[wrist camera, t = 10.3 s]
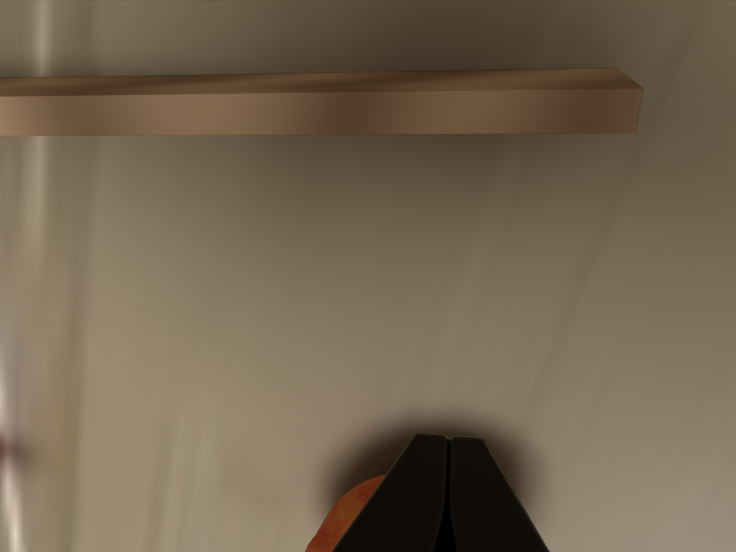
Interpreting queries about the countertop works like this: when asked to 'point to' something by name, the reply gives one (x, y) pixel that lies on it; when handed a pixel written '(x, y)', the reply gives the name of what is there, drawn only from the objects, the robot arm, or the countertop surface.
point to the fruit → (342, 516)
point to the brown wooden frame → (324, 103)
